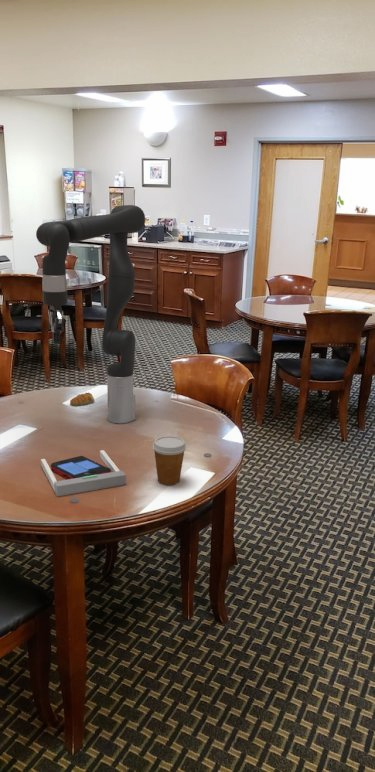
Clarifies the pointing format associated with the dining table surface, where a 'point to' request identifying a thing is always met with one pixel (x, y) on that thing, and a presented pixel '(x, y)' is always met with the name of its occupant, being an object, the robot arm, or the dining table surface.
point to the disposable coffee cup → (169, 458)
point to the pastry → (82, 399)
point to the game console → (78, 467)
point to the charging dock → (86, 479)
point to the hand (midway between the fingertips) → (56, 343)
